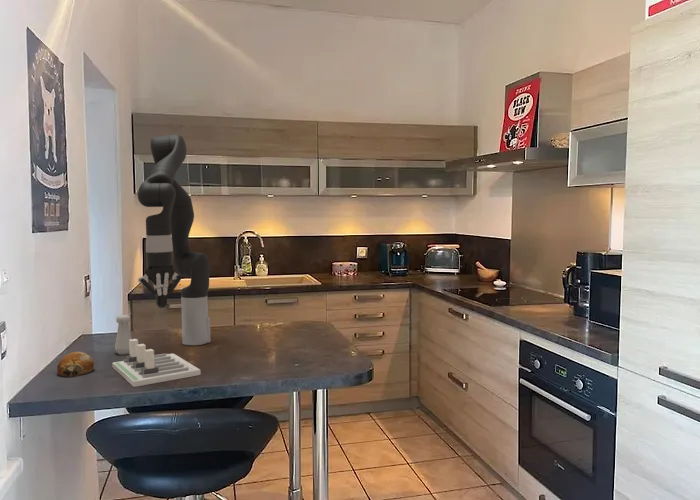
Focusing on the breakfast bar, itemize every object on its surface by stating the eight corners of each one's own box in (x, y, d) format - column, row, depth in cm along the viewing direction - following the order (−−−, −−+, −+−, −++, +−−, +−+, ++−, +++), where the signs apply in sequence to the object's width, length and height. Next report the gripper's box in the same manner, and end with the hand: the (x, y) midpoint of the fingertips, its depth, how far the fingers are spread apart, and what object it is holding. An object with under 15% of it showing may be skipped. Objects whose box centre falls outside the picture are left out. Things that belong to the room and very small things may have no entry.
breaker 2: (146, 365, 169) (146, 343, 168) (149, 368, 166) (149, 344, 166) (133, 368, 166) (132, 344, 166) (136, 370, 164) (135, 346, 163)
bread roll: (97, 382, 170) (105, 356, 173) (73, 377, 161) (81, 349, 164) (72, 379, 173) (79, 353, 176) (46, 373, 164) (55, 346, 167)
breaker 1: (139, 360, 175) (138, 338, 175) (142, 362, 173) (141, 339, 172) (126, 362, 173) (125, 339, 172) (128, 364, 170) (128, 341, 170)
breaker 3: (155, 371, 162) (154, 348, 162) (158, 374, 160) (157, 350, 159) (141, 374, 160) (140, 350, 159) (144, 376, 158) (143, 352, 157)
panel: (173, 357, 184) (173, 350, 184) (200, 374, 165) (200, 367, 165) (112, 367, 173) (112, 360, 173) (133, 386, 154) (133, 378, 153)
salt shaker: (126, 355, 187) (125, 317, 186) (111, 355, 188) (110, 316, 187) (136, 351, 193) (135, 314, 192) (121, 350, 194) (120, 313, 193)
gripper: (176, 248, 174) (178, 303, 176) (132, 250, 166) (135, 308, 168) (185, 249, 168) (187, 306, 170) (140, 252, 160) (143, 312, 162)
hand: (161, 307), depth 169 cm, fingers closed
